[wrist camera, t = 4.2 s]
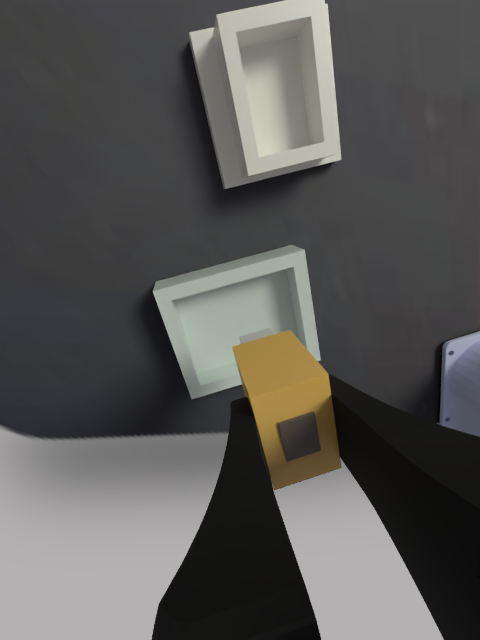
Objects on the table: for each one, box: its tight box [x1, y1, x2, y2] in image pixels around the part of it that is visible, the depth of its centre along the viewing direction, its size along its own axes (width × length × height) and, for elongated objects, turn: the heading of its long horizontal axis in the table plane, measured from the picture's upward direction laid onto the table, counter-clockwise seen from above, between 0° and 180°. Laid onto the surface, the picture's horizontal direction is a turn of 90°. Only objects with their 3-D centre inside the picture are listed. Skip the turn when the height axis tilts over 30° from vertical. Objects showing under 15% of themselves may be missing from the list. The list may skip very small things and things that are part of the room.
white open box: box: [189, 0, 341, 189], centre depth 16 cm, size 7×7×3 cm
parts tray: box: [153, 245, 321, 399], centre depth 20 cm, size 8×9×2 cm
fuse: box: [232, 328, 341, 490], centre depth 12 cm, size 4×2×6 cm, turn 13°
